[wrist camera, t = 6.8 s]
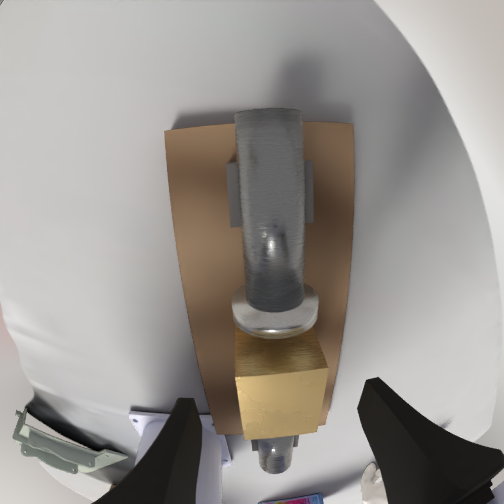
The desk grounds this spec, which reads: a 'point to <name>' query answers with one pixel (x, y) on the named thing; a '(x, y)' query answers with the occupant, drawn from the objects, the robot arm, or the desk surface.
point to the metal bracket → (60, 450)
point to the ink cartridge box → (299, 500)
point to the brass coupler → (279, 384)
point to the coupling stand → (262, 245)
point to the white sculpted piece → (372, 486)
